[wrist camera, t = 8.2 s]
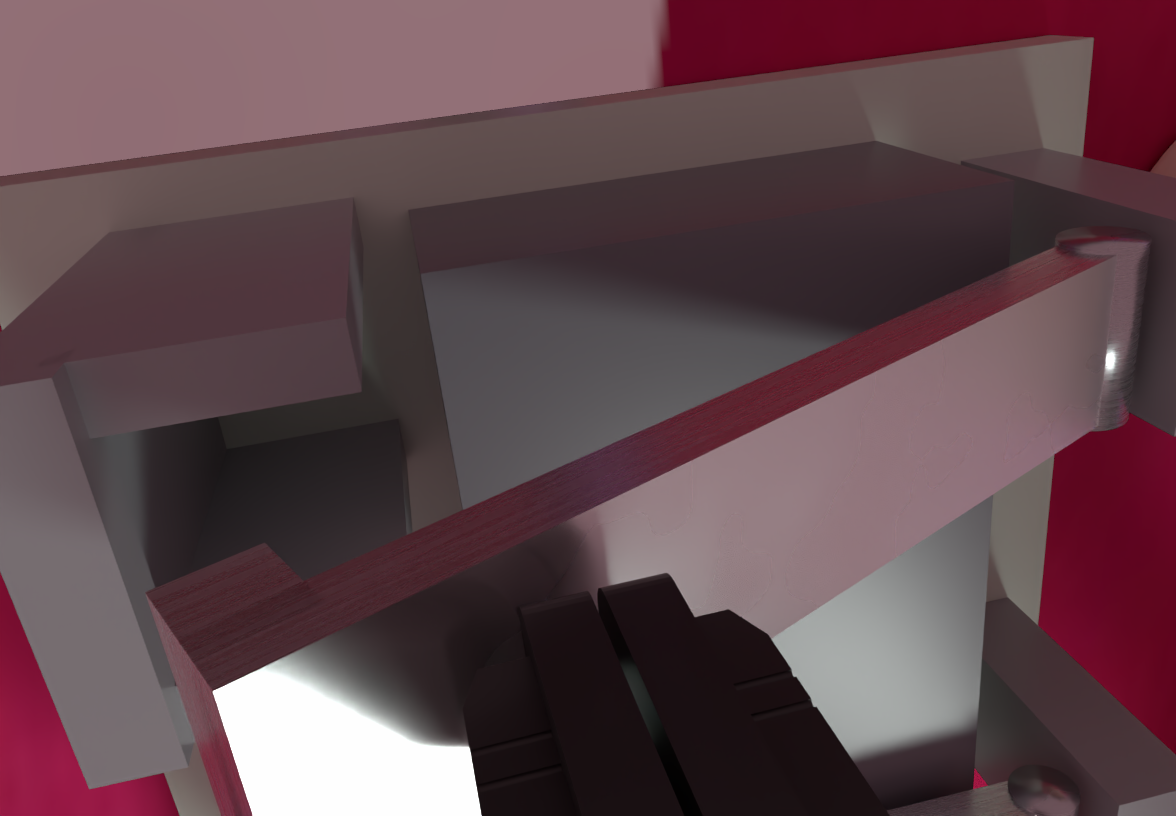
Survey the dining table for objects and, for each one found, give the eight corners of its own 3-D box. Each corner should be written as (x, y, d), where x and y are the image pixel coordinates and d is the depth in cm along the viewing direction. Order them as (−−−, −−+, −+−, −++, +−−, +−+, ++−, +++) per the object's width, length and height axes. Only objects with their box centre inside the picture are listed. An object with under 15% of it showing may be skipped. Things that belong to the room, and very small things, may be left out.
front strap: (1038, 216, 18) (1167, 232, 16) (1025, 381, 19) (1143, 411, 17) (141, 582, 9) (218, 693, 8) (226, 830, 11) (308, 969, 9)
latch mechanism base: (1050, 35, 23) (1505, 61, 14) (996, 719, 31) (1259, 1022, 22) (-19, 178, 19) (-359, 341, 10) (235, 904, 27) (171, 1352, 18)
